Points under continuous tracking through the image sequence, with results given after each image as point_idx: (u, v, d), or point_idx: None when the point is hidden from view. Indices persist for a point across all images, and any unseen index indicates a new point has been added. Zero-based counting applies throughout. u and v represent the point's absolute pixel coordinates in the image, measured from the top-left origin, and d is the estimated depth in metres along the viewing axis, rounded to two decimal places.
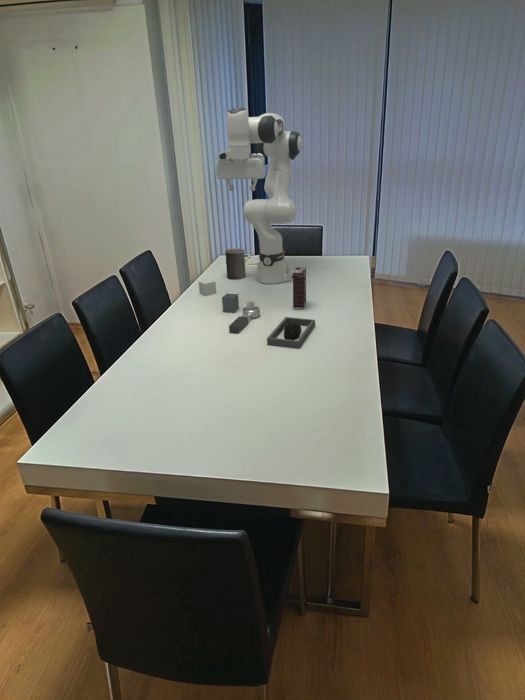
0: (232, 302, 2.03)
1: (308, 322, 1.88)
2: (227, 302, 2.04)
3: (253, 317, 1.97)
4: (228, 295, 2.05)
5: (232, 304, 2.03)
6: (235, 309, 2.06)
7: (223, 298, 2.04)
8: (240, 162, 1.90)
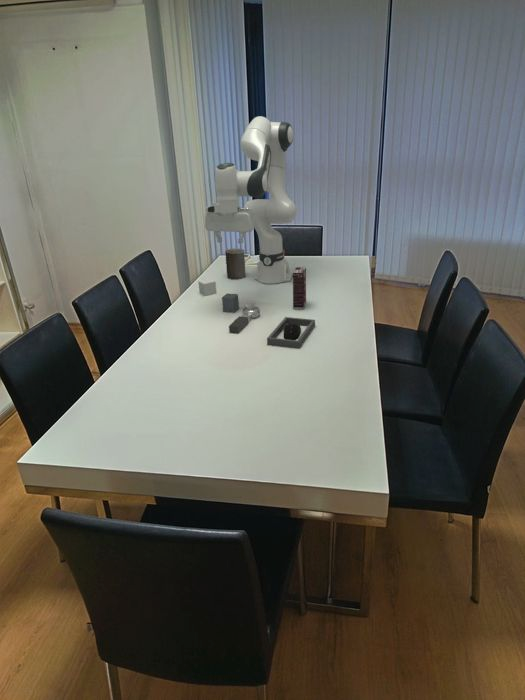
0: (232, 302, 2.03)
1: (308, 322, 1.88)
2: (227, 302, 2.04)
3: (253, 317, 1.97)
4: (228, 295, 2.05)
5: (232, 304, 2.03)
6: (235, 309, 2.06)
7: (223, 298, 2.04)
8: (228, 216, 1.90)
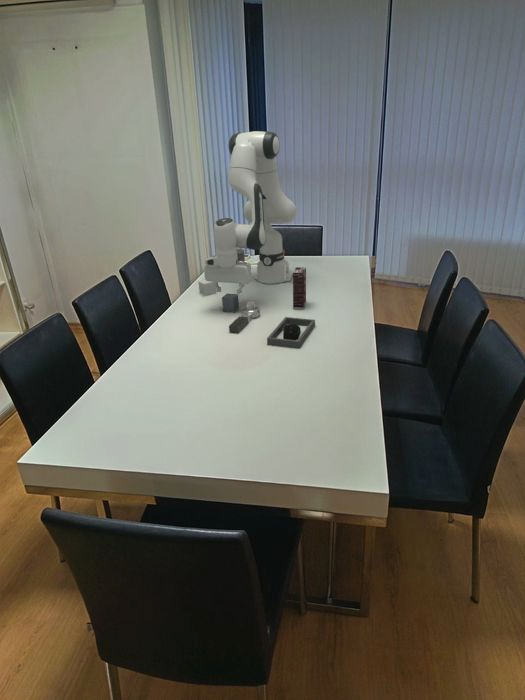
0: (232, 302, 2.03)
1: (308, 322, 1.88)
2: (227, 302, 2.04)
3: (253, 317, 1.97)
4: (228, 295, 2.05)
5: (232, 304, 2.03)
6: (235, 309, 2.06)
7: (223, 298, 2.04)
8: (227, 268, 1.96)
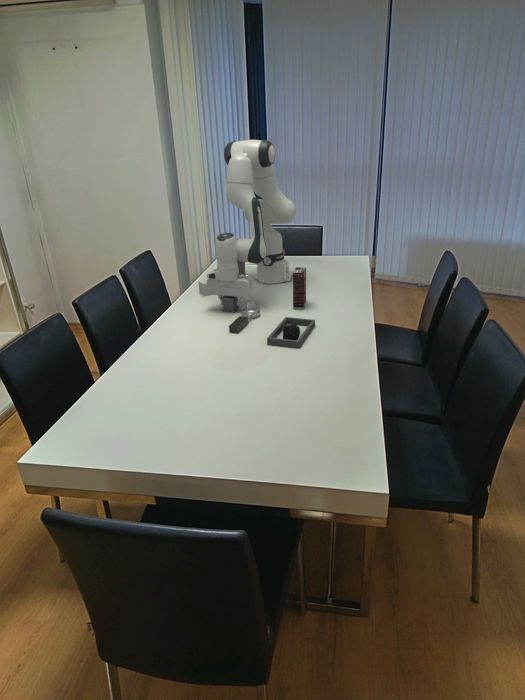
0: (232, 302, 2.03)
1: (308, 322, 1.88)
2: (227, 302, 2.04)
3: (253, 317, 1.97)
4: None
5: (232, 304, 2.03)
6: (235, 309, 2.06)
7: (223, 298, 2.04)
8: (228, 282, 1.99)
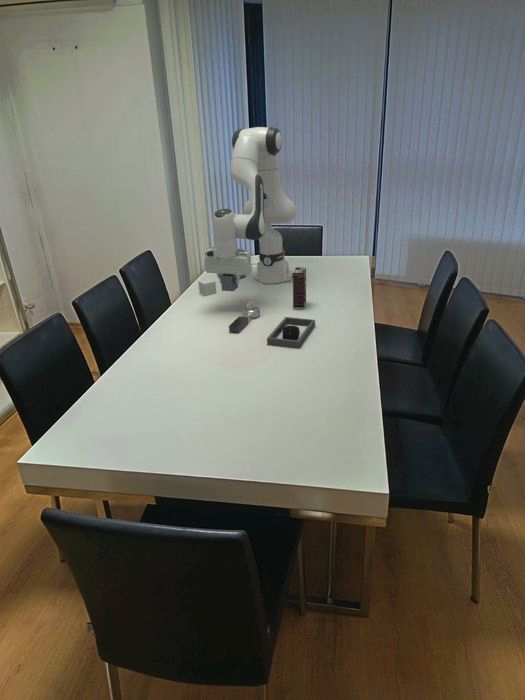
0: (231, 280, 1.99)
1: (308, 322, 1.88)
2: (226, 280, 2.00)
3: (253, 317, 1.97)
4: (227, 274, 2.01)
5: (231, 282, 2.00)
6: (234, 287, 2.02)
7: (222, 276, 2.00)
8: (227, 260, 1.96)
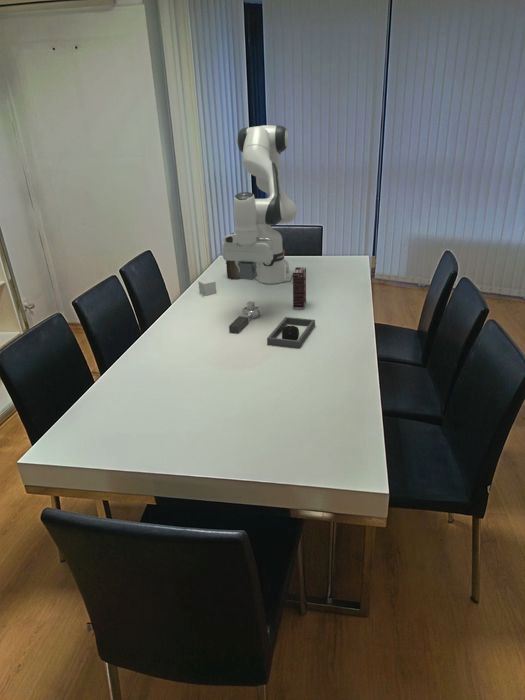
0: (250, 268, 1.89)
1: (308, 322, 1.88)
2: (245, 268, 1.89)
3: (253, 317, 1.97)
4: None
5: (250, 270, 1.89)
6: (253, 276, 1.91)
7: (241, 264, 1.89)
8: (247, 246, 1.85)
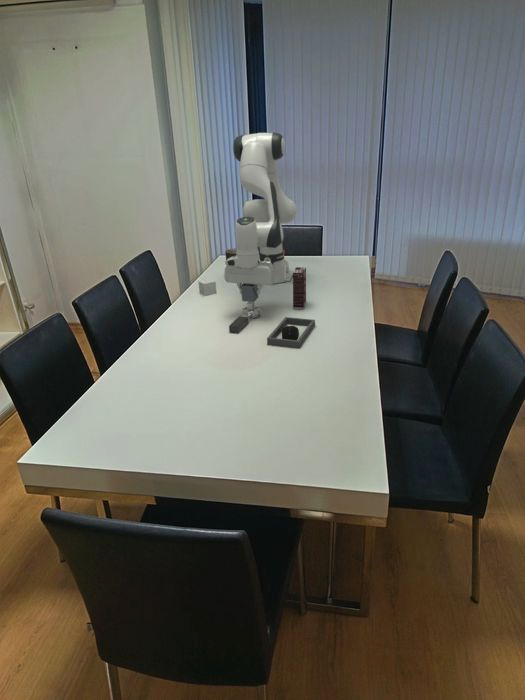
0: (252, 290, 1.93)
1: (308, 322, 1.88)
2: (246, 290, 1.93)
3: (253, 317, 1.97)
4: (248, 284, 1.95)
5: (252, 292, 1.93)
6: (255, 298, 1.95)
7: (242, 286, 1.93)
8: (248, 269, 1.89)
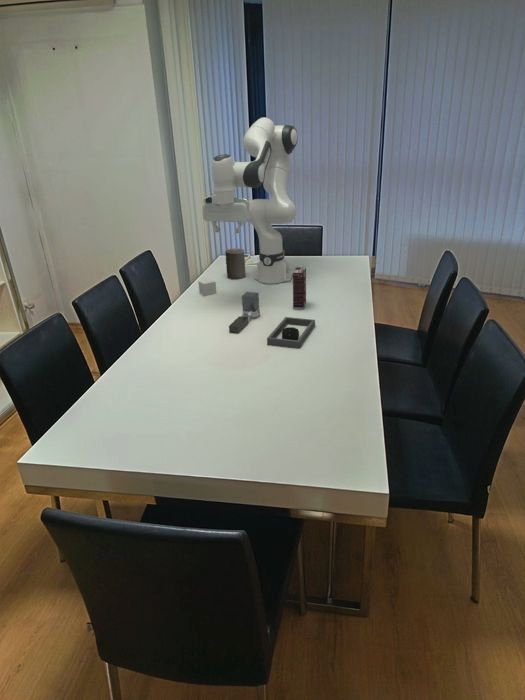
0: (253, 301, 1.95)
1: (308, 322, 1.88)
2: (247, 301, 1.95)
3: (253, 317, 1.97)
4: (248, 294, 1.97)
5: (252, 303, 1.95)
6: (255, 308, 1.97)
7: (243, 296, 1.95)
8: (225, 206, 1.95)
